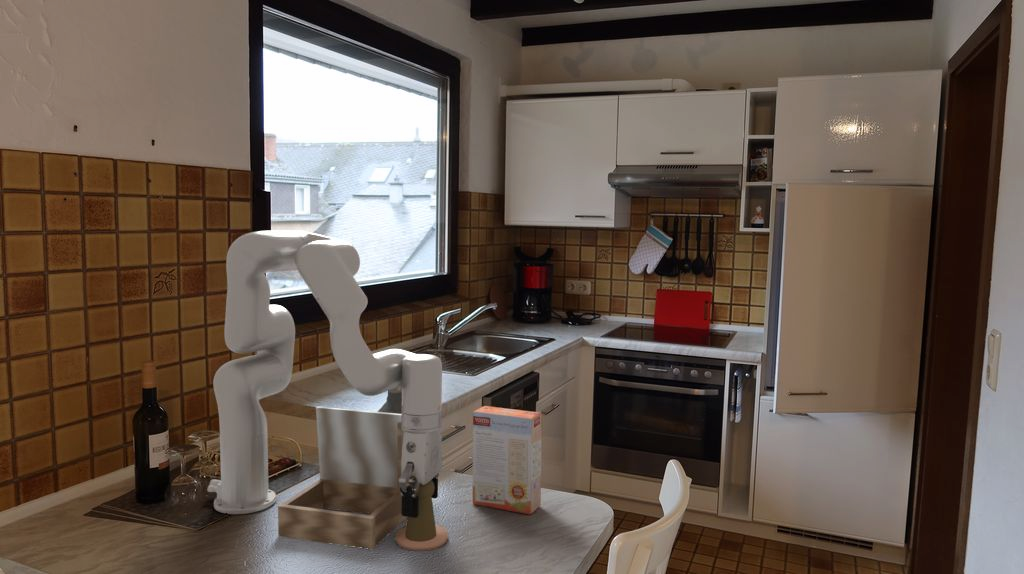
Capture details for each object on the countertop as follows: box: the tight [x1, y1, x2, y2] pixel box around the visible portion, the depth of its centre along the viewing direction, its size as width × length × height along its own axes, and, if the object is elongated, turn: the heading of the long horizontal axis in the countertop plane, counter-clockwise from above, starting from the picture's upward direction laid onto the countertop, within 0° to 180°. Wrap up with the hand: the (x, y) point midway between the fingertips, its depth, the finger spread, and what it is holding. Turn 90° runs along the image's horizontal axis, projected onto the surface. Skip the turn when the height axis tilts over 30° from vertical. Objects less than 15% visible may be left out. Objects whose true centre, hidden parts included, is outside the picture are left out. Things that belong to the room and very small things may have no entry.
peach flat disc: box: [395, 524, 449, 552], centre depth 141 cm, size 10×10×1 cm
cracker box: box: [472, 405, 543, 515], centre depth 157 cm, size 14×6×21 cm, turn 65°
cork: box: [405, 478, 436, 542], centre depth 140 cm, size 6×6×11 cm
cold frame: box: [277, 405, 407, 550], centre depth 145 cm, size 20×16×22 cm
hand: (420, 506), depth 140 cm, fingers open, 9 cm apart
